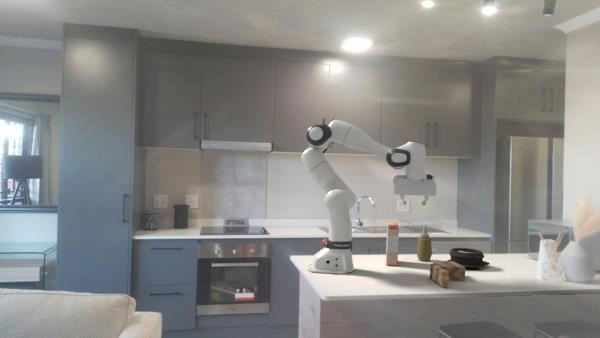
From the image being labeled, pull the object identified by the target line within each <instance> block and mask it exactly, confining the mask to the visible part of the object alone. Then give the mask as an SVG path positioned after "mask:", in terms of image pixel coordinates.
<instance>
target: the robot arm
mask: <svg viewBox="0 0 600 338" xmlns="http://www.w3.org/2000/svg"><path fill="white" fill-rule="evenodd" d="M305 138H306V141H307V142H308V147H307V148H306V149H305V150H304V151H303V152H302V154H301V161H302V163H303V167H305V170H306V171H307V173H308V174H309V176H310V178H312V180H313V181H314V183H315V184H316V186H317V187H318V188H319V189H320V190H321V191H322V192H324V194H325V196H324V198H323V200H324V201H323V203H324V206H325V207H326V214H327V218H328V219H327V220H328V239H323V240H322V243H323V245H324V247H323V248H322V249H320V250H318V251H317V252H316V253H315V254H314V255H313V257H312V261H311V262H312V263H310V264H308V265H307V270H308V271H309V272H312V273H319V274H323V273H324V274H339V275H344V274H347V273H351V272H354V271H355V266H354V262H353V251H354V250H353V249H354V248H353V247H354V246H353V245H354V244H353V239H352V238H353V237H352V236H353V234H352V233H353V223H352V221H351V215H350V210H351V209H352V208H354V206H355V205H356V202H357V196H356V193H355V192H354V191H353V190H352V189H351V188H350V187H349V186H348V185H347V183H345V181H344V180H343V179H342V178H341V177H340V176H339V175H338V173H337V172H336V171H335V169H334V168H333V167H332V165H331V164H330V162H329V161H328V160H327V158H326V157H325V155H324V154H325V153H326V152H327V151H328V149H329V148H330V146H331V143H332V142H333V143H338V144H341V145H343V146H344V147H347V148H349V149H352V150H356V151H362V152H367V153H369V154H372V155H374V156H376V157H378V158H380V159H382V160H384V161H385V162H386V163H387V164H388V165H389V166H390V167H391V168H392V169H394V170H402V169H403V168H405V174H404V175H403V174H402V175H399V174H396V175H395V176H393V179H392V183H393V187H392V194H394V195H399V197H400V200H401V203H402V204H401V205H405V206H406V205H407V200H406V199H404V198H405V196H423V197H424V199H423V200H422V201H421V206H426V205H427V201H428V200H429V196H431V197H435V196H436V195H437V183H436V181H435V180H436V177H435V176H436V175H433V174H430V173H428V172H426V167H425V162H426V147H425V145H424V144H423V143H422V142H419V141H415V140H414V141H411V140H410V141H408V142H407V143H405V144H403V145H400V146H397V147H394V148H390V147H388V146H386V145H383V144H381V143H379V142H377V141H375V140H374V139H373V138H371V136H369V134H367V133H366V132H365V131H364V130H362V128H360V127H358V126H356V125H354V124H352V123H349V122H347V121H344V120H341V119H333V120H331V122H330V123H329V124H312V125H311V126H310V127H308V128H307V130H306V134H305Z"/></svg>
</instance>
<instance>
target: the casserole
mask: <svg viewBox="0 0 600 338" xmlns="http://www.w3.org/2000/svg"><path fill="white" fill-rule="evenodd" d="M448 254H449V256H450V258H449V259H448V260H446V261H453V262H456V263H458V264H460V265H462V266H464V267H465V270H474V269H475V270H476V269H479V268H484V267H486V266H489V265H490V264H491V263H490V262H489V261H485V260H483V259H484V258H485V255H484V252H483V251H482V250H480V249H475V248H467V247H453V248H451V249H450V251H449V253H448Z"/></svg>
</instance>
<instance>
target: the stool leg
mask: <svg viewBox="0 0 600 338" xmlns="http://www.w3.org/2000/svg"><path fill="white" fill-rule="evenodd" d="M430 269H432V279H433V281H435V282H436V283H437V284H438V285H440V287H442V288H449V282H450V281H449V272H447V271H446V270H444V269H443V268H441V267H440V266H438V265H437V264H433V263H430ZM432 279H431V280H432Z"/></svg>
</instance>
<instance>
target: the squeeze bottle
mask: <svg viewBox="0 0 600 338" xmlns="http://www.w3.org/2000/svg"><path fill="white" fill-rule="evenodd" d="M419 236H420V237H418V239H417V249H416V255H417V259H418V261H421V262H430V260H431V258H432V255H433V252H432V251H433V250H432V239H431V238H430V234H429V233H428V231H427V227H426V226H425V227H424V226H423V229H422V233H420V235H419Z"/></svg>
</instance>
